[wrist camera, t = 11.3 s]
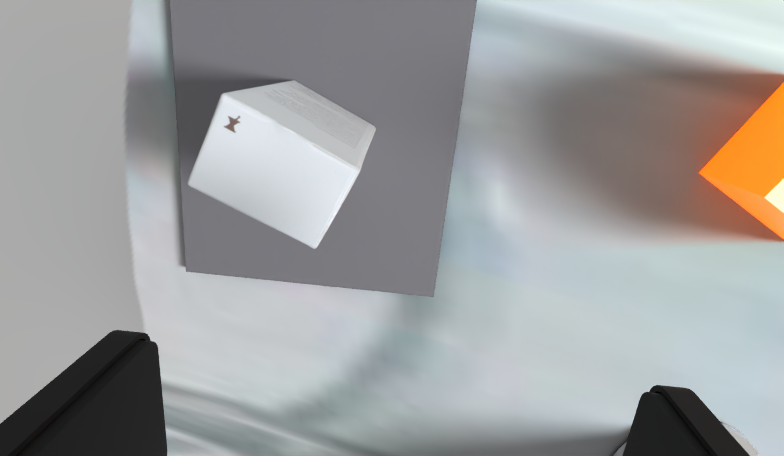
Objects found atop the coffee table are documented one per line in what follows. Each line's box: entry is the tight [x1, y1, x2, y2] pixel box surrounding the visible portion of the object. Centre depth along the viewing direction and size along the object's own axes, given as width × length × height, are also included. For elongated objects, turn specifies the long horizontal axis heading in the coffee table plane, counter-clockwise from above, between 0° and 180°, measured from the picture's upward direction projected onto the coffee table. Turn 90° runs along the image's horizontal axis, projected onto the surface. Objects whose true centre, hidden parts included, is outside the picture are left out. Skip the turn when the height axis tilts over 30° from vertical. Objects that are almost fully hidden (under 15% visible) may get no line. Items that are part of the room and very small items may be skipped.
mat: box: [170, 0, 477, 297], centre depth 30 cm, size 22×18×1 cm
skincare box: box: [187, 80, 376, 249], centre depth 24 cm, size 6×4×12 cm
